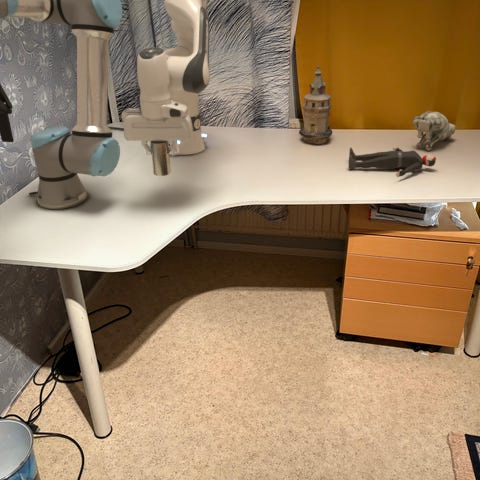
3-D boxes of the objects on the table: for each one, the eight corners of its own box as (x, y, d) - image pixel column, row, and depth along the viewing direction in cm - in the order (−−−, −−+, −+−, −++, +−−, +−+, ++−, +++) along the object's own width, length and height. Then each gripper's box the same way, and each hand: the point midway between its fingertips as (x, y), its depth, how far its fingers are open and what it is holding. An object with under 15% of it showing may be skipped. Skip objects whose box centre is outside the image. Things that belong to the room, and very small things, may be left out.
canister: (151, 175, 161) (147, 143, 156) (156, 168, 166) (153, 137, 161) (167, 176, 160) (164, 144, 155) (173, 170, 165) (170, 138, 160)
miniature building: (320, 132, 228) (325, 59, 214) (338, 142, 217) (344, 66, 203) (293, 137, 224) (296, 63, 209) (310, 147, 213) (314, 69, 198)
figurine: (442, 162, 206) (466, 135, 215) (430, 119, 197) (456, 92, 206) (420, 162, 213) (444, 135, 222) (407, 120, 205) (433, 94, 213)
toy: (350, 139, 204) (432, 140, 198) (349, 155, 207) (431, 156, 201) (348, 164, 182) (441, 166, 176) (347, 181, 185) (438, 183, 179)
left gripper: (-53, 68, 102) (-25, 172, 112) (15, 45, 123) (33, 134, 134) (-89, 67, 103) (-57, 170, 114) (-15, 45, 125) (6, 133, 135)
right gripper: (117, 111, 151) (123, 157, 158) (189, 111, 150) (192, 158, 157) (123, 105, 157) (128, 150, 164) (192, 105, 156) (195, 150, 163)
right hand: (160, 154), depth 160 cm, fingers closed on canister, 5 cm apart
